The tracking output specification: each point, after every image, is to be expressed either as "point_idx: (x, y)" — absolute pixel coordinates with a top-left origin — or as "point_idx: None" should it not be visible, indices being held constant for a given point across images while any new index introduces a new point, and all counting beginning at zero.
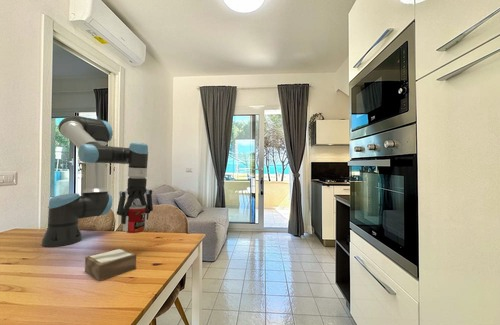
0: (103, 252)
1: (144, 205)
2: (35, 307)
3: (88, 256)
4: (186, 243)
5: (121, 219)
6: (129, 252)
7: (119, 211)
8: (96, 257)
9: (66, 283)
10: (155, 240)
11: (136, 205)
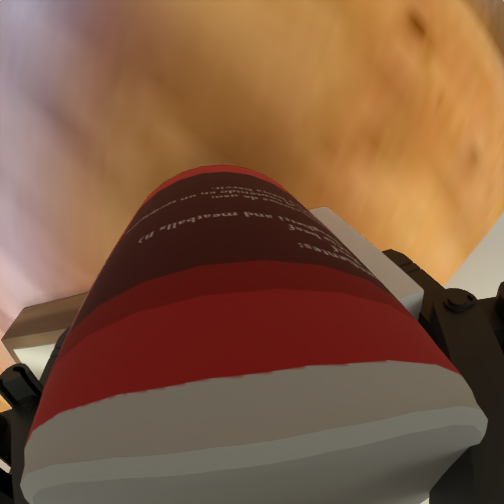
0: (47, 331)
1: (431, 493)
2: (6, 408)
3: (7, 340)
4: (454, 234)
5: (49, 366)
6: None
7: (11, 487)
8: (38, 375)
9: (9, 356)
10: (389, 64)
11: (378, 452)
